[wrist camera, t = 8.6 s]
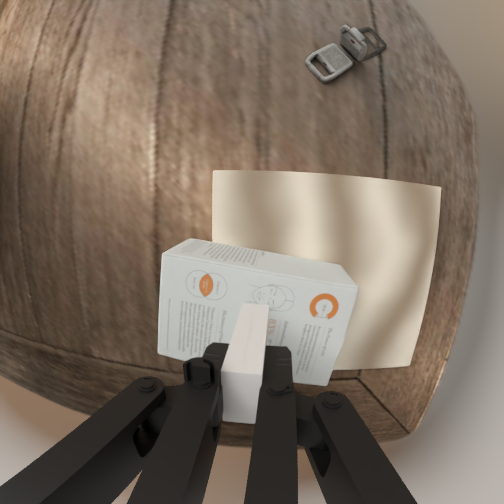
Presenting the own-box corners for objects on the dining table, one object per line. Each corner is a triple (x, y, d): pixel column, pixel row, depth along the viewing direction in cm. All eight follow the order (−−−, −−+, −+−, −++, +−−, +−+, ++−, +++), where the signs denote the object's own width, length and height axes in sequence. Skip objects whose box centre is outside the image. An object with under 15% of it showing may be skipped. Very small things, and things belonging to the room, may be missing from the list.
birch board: (217, 358, 28) (215, 364, 27) (216, 171, 24) (213, 170, 23) (405, 359, 26) (409, 365, 25) (434, 186, 22) (440, 187, 21)
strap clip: (323, 86, 22) (331, 69, 18) (301, 62, 21) (305, 42, 17) (387, 49, 20) (402, 30, 16) (366, 27, 20) (378, 6, 15)
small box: (181, 320, 26) (319, 347, 25) (155, 355, 20) (328, 389, 19) (189, 235, 24) (342, 263, 23) (160, 250, 18) (362, 288, 17)
